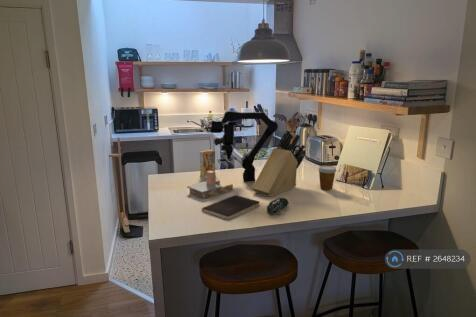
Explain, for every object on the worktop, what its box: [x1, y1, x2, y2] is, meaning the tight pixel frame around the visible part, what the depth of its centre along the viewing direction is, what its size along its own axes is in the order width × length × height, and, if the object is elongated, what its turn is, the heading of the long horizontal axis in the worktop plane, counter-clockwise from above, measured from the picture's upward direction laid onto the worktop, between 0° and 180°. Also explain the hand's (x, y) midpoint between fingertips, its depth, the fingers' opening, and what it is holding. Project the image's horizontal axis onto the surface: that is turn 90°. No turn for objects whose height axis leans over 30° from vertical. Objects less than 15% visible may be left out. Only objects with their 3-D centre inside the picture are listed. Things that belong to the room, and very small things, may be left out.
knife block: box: [251, 129, 306, 197], centre depth 188 cm, size 11×35×31 cm, turn 138°
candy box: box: [199, 149, 216, 177], centre depth 217 cm, size 9×4×15 cm, turn 129°
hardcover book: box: [201, 194, 261, 220], centre depth 162 cm, size 16×23×2 cm
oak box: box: [189, 179, 234, 199], centre depth 186 cm, size 20×12×3 cm, turn 134°
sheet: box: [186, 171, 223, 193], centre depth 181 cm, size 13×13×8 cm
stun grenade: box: [265, 197, 289, 216], centre depth 159 cm, size 6×6×14 cm
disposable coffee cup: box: [317, 165, 337, 191], centre depth 189 cm, size 10×10×12 cm
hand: (228, 159), depth 202 cm, fingers closed
